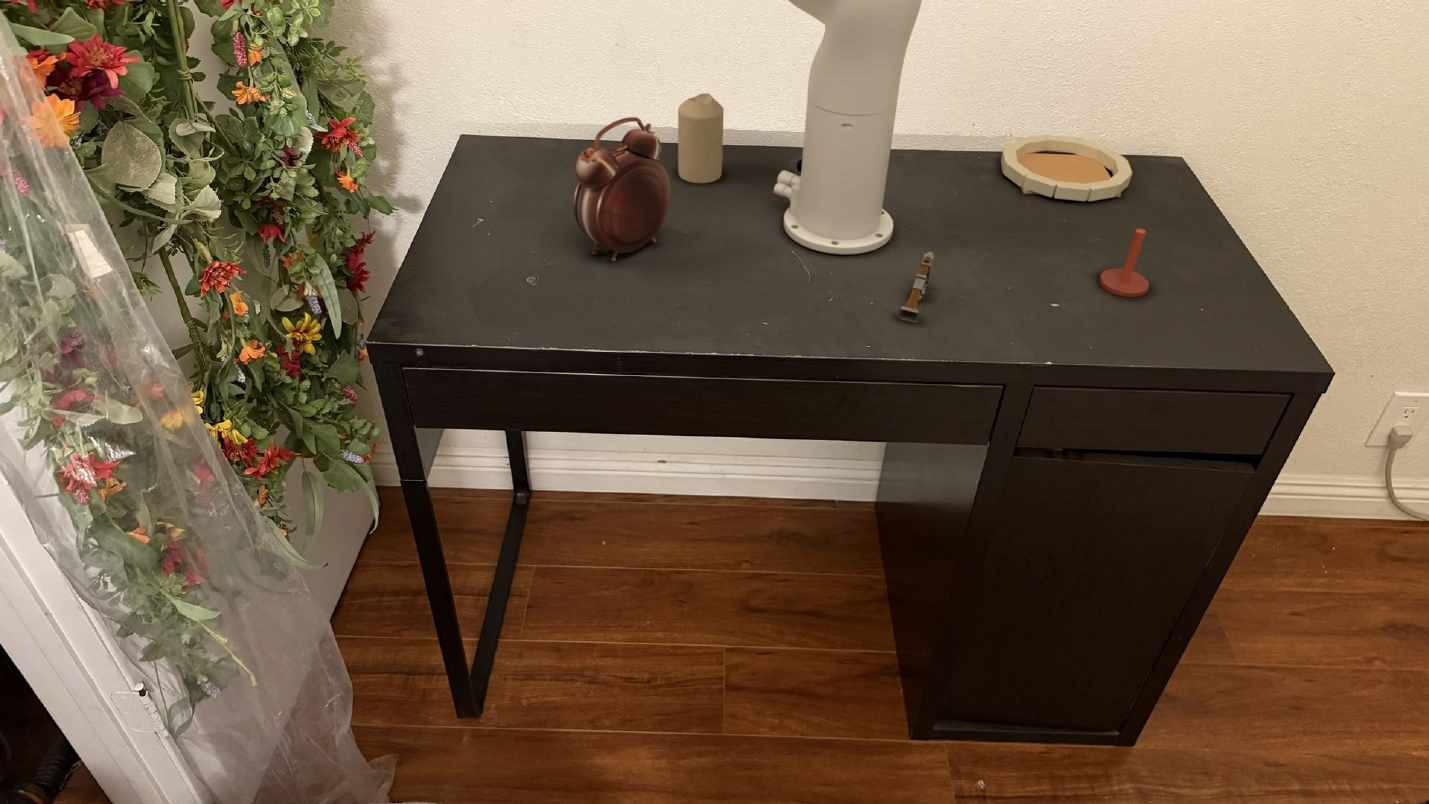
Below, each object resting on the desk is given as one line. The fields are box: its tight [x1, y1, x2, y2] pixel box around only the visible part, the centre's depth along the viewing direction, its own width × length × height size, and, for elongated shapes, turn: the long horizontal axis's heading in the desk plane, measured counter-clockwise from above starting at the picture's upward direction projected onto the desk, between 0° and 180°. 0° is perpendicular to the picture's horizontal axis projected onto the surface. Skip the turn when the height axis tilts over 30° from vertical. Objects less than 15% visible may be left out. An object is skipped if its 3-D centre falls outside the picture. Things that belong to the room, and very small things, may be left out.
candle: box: [677, 92, 725, 184], centre depth 122 cm, size 6×6×10 cm
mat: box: [1017, 152, 1122, 198], centre depth 127 cm, size 12×11×1 cm
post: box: [1098, 228, 1150, 298], centre depth 105 cm, size 5×5×7 cm
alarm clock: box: [572, 116, 672, 262], centre depth 106 cm, size 11×5×15 cm, turn 136°
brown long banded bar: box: [899, 251, 935, 324], centre depth 102 cm, size 2×8×4 cm, turn 157°
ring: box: [1000, 134, 1133, 202], centre depth 127 cm, size 16×16×2 cm
